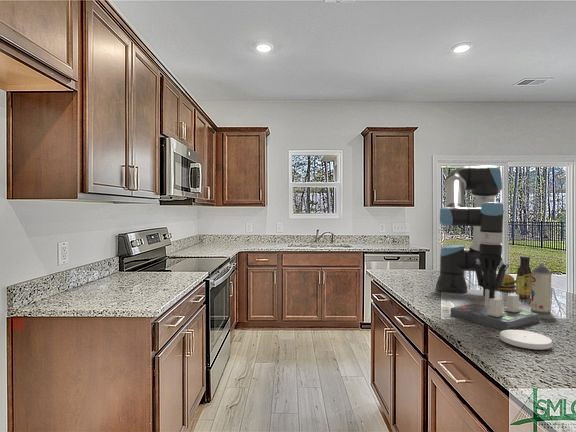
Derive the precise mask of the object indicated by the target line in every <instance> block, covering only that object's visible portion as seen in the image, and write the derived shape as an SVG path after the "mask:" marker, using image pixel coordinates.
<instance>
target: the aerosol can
mask: <svg viewBox="0 0 576 432" xmlns="http://www.w3.org/2000/svg"><path fill="white" fill-rule="evenodd" d="M531 272H532V284H531V297H530V312H533V313H537V314H545V315H546V314H551V303H552V302H551V301H552V272H551V271H550V270H549V268H547V267H546V266H545V263H541V262H540V263H539V265H538V266H536V267H535V268H534V269H531Z"/></svg>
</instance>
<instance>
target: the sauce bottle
mask: <svg viewBox="0 0 576 432" xmlns="http://www.w3.org/2000/svg"><path fill="white" fill-rule="evenodd" d="M530 260H531V257H530V256H525V255H524V256H523V255H522V256H520V258H519V261H520V264H519V267H517V271H516V280H517V282H516V283H515V285H516V287H515V294H517V295H519V299H531V284H532V269H531V267H530Z"/></svg>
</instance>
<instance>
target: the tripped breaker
mask: <svg viewBox="0 0 576 432" xmlns="http://www.w3.org/2000/svg"><path fill="white" fill-rule="evenodd" d="M503 306H504V298H502V297H497V296H496V297H494V298H491V299H490V311H488V312H487V315H491V316H495V317H500V316H504V315H505V312H503Z"/></svg>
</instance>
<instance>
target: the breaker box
mask: <svg viewBox="0 0 576 432" xmlns="http://www.w3.org/2000/svg"><path fill="white" fill-rule="evenodd" d="M504 307H507V305H506V306H505V305H503V312H505V315H504V316H500V317H495V316H491V315H487V312H488V311H490V307H486V306H485V301H484V300H483V301H478V302H474V303H469V304H464V305H459V306H455V307H451V308H450V317H456V318H458V319H462V320H466V321H469V322H473V323H476V324H480V325H484V326H488V327H492V328H495V329H499V330H501V331H504V330H516V329H518V328H522V327H526V326H528V325H531V324H535V323H539V319H540V317H539V315H540V313H536V312H533V311H528V310H523V309H521V311H519V312H515V313H514V312H510V311H506V310H504Z"/></svg>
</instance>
